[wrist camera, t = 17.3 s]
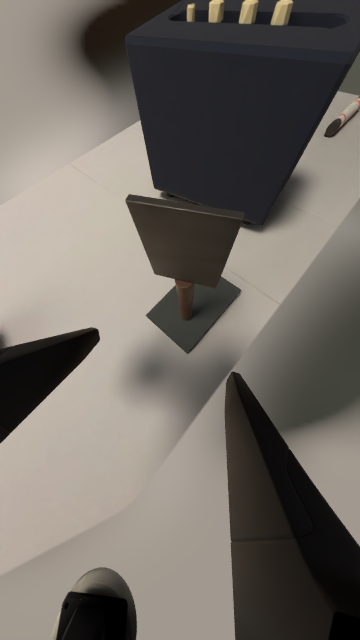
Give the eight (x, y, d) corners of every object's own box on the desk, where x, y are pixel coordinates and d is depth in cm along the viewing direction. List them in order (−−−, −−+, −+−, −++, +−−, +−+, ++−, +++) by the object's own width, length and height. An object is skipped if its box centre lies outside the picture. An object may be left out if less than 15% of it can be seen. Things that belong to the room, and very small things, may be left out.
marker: (331, 138, 29) (341, 122, 27) (322, 135, 30) (331, 119, 28) (362, 107, 32) (373, 91, 30) (353, 105, 32) (364, 89, 30)
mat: (187, 353, 18) (187, 353, 17) (147, 317, 20) (145, 315, 19) (239, 293, 20) (241, 290, 19) (198, 265, 22) (199, 261, 21)
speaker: (282, 189, 26) (403, -27, 11) (256, 235, 23) (371, 28, 9) (186, 162, 30) (185, -21, 15) (155, 198, 27) (118, 17, 13)
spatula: (201, 325, 18) (240, 230, 5) (168, 316, 19) (119, 209, 5) (204, 315, 18) (247, 201, 5) (172, 306, 19) (133, 184, 6)
